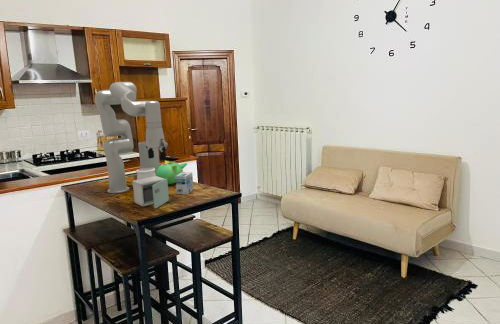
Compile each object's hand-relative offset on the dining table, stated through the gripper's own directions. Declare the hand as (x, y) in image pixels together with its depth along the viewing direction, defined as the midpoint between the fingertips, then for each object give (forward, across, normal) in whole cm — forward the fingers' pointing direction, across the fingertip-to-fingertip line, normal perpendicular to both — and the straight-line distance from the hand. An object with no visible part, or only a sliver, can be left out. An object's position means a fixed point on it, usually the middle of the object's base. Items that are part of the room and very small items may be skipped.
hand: (157, 158), depth 194 cm
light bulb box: (+24, -6, +22) cm, 33 cm away
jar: (+24, -20, +7) cm, 32 cm away
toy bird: (+24, -28, +31) cm, 49 cm away
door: (+24, +3, -2) cm, 24 cm away
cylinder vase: (+24, -51, +33) cm, 66 cm away
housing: (+24, -8, -1) cm, 25 cm away
